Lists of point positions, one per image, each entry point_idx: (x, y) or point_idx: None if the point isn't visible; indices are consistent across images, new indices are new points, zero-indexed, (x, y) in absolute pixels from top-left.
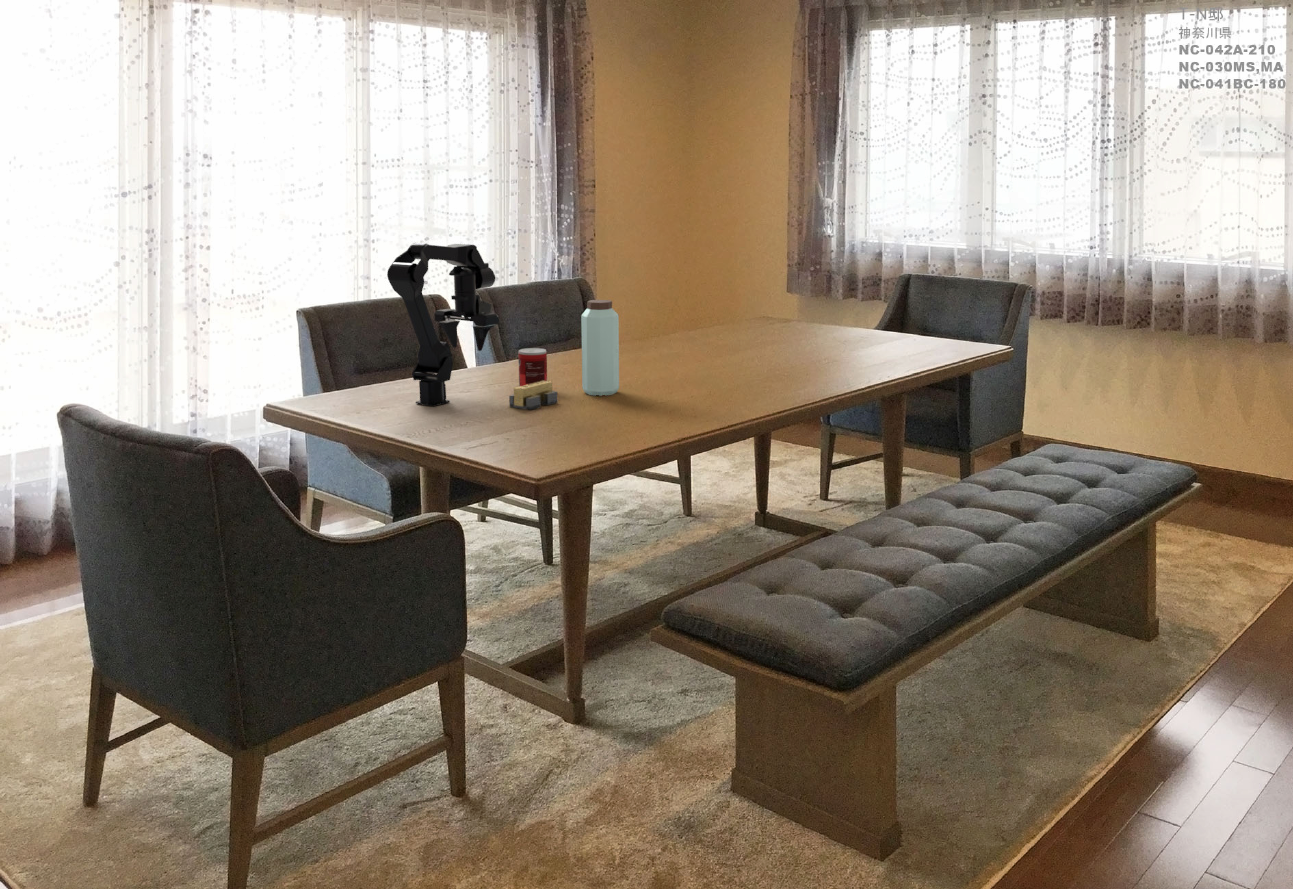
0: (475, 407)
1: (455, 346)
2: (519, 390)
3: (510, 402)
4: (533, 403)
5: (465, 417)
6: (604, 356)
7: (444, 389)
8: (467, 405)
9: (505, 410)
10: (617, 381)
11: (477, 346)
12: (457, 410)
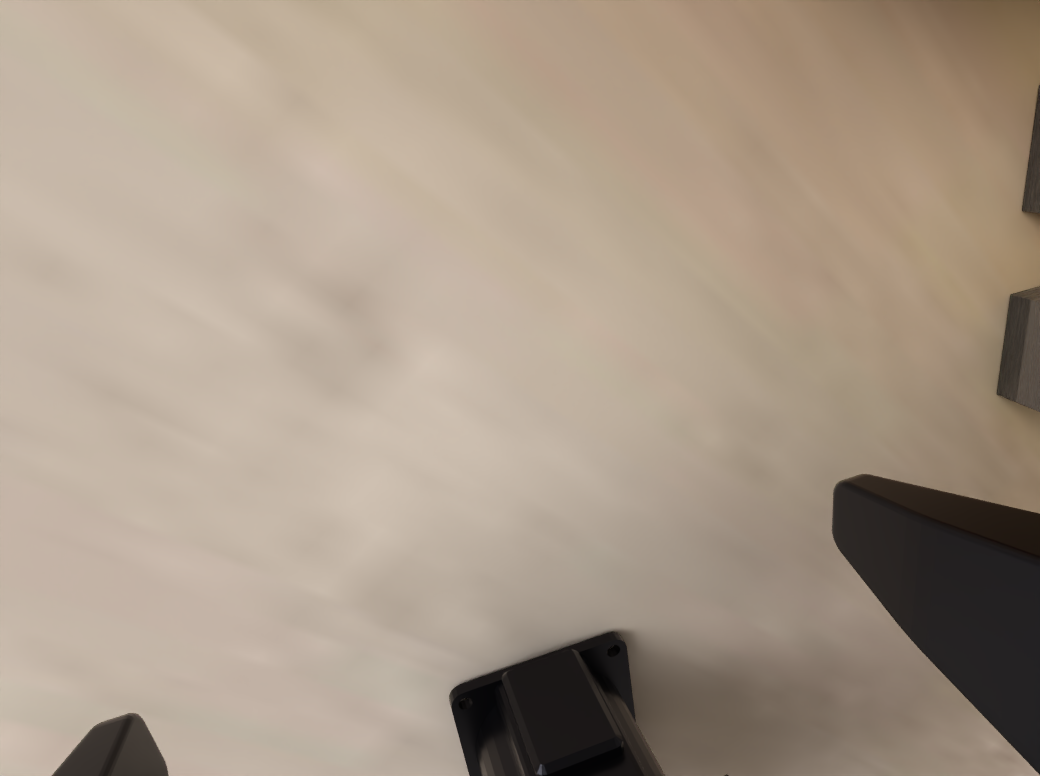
0: (835, 560)
1: (151, 754)
2: None
3: (1032, 403)
4: None
5: (937, 695)
6: None
7: (618, 722)
8: (759, 573)
9: (1021, 464)
10: None
11: (909, 618)
12: (804, 670)
